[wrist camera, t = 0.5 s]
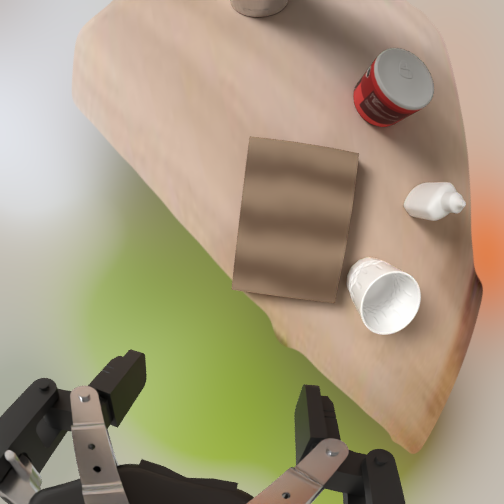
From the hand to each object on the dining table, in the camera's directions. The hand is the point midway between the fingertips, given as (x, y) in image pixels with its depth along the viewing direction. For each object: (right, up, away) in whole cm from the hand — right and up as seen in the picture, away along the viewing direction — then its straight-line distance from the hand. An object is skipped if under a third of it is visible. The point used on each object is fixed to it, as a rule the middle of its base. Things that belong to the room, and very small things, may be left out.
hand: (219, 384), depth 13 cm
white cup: (+18, +3, +26) cm, 32 cm away
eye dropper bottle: (+26, +14, +23) cm, 38 cm away
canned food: (+19, +28, +21) cm, 40 cm away
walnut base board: (+7, +11, +25) cm, 29 cm away
